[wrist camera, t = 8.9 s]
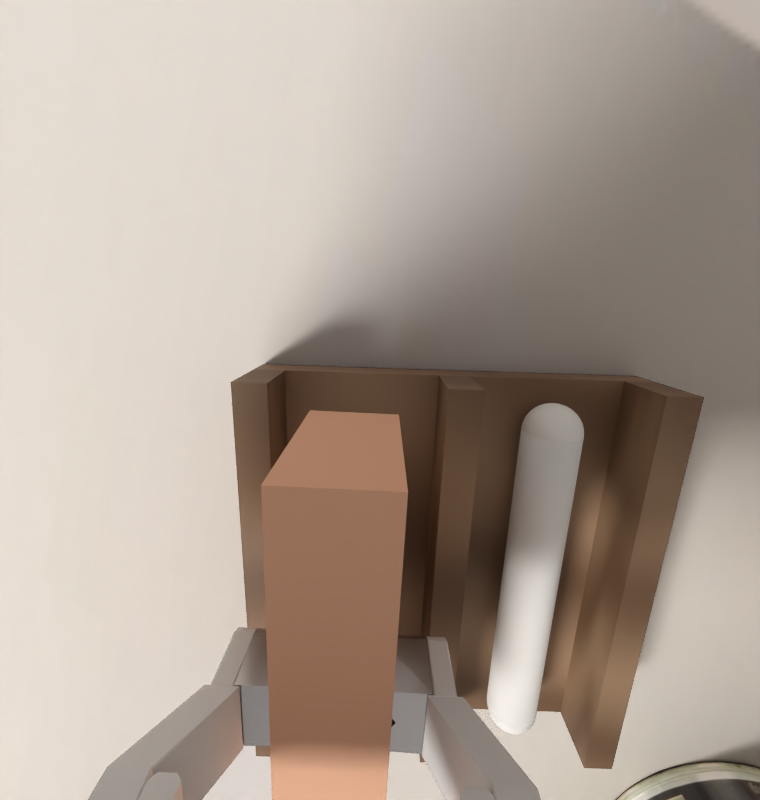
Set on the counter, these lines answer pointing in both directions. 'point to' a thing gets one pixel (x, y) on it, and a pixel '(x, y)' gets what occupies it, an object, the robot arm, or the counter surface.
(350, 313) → the counter surface
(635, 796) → the coffee can
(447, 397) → the comb board
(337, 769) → the peach rectangular block
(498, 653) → the white rounded rod
